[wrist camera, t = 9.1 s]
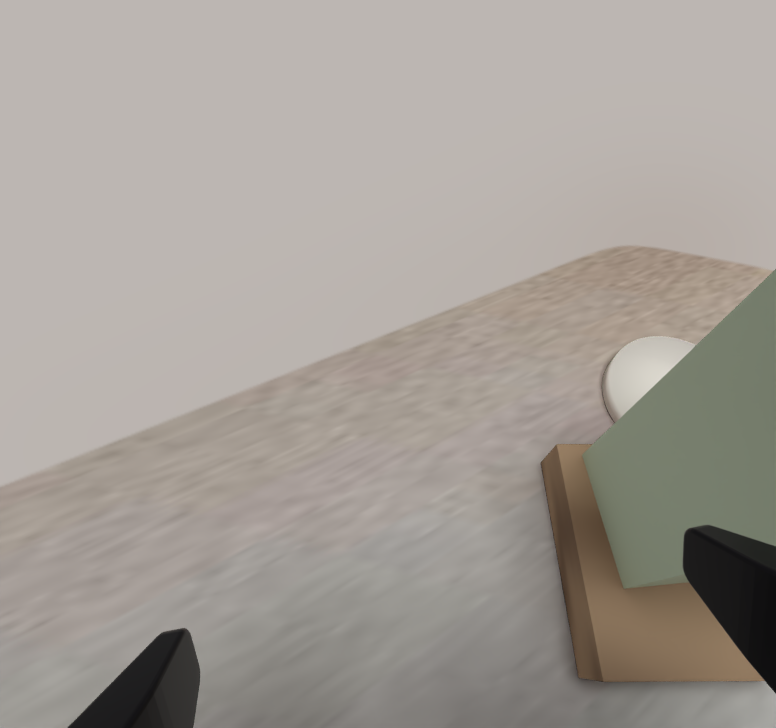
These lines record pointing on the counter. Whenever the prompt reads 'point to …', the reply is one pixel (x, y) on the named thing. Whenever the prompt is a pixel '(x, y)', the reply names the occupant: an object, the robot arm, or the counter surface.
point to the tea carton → (694, 449)
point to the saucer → (639, 370)
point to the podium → (627, 599)
